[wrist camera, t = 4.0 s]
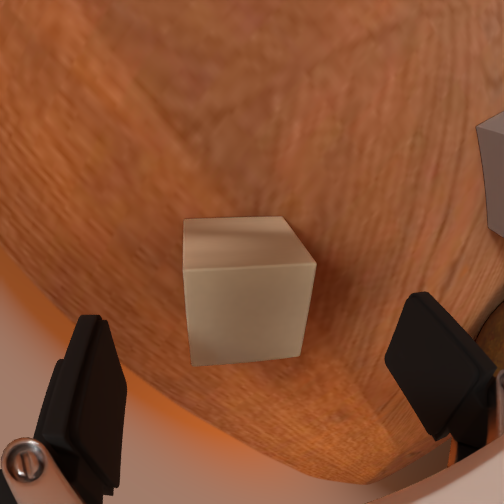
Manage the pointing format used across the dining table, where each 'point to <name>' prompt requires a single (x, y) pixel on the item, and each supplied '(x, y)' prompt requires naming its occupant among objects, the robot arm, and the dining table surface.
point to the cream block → (245, 289)
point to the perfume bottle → (493, 169)
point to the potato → (494, 338)
